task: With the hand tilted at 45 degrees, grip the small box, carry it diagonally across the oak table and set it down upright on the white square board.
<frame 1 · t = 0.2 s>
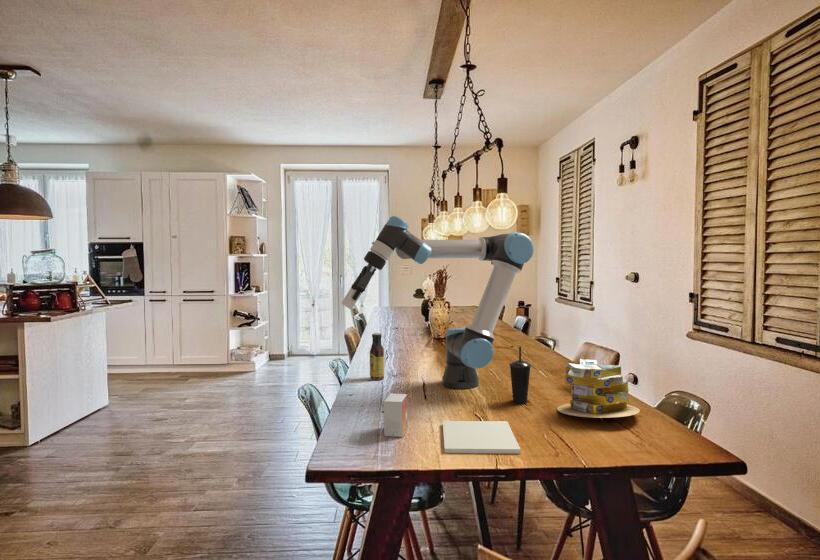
hand: (345, 306, 156), 35 cm above the table, tool tilted 35°, fingers open, 13 cm apart
stacked boxes on plate: (597, 415, 146), on the table
small box: (396, 432, 133), on the table
white square board: (478, 438, 128), on the table
sauce bottle: (377, 379, 192), on the table
light bulb box: (588, 389, 174), on the table
drinking cup: (520, 402, 159), on the table
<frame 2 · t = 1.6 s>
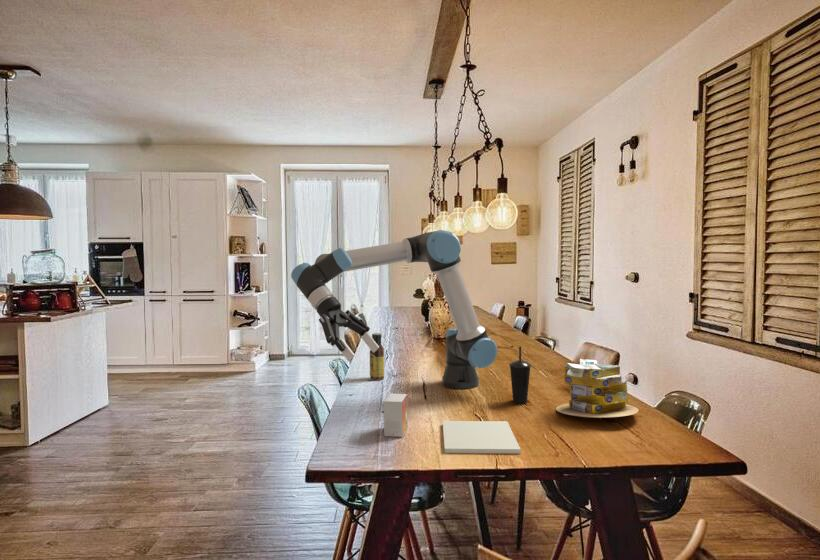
hand: (364, 354, 137), 23 cm above the table, tool tilted 45°, fingers open, 13 cm apart
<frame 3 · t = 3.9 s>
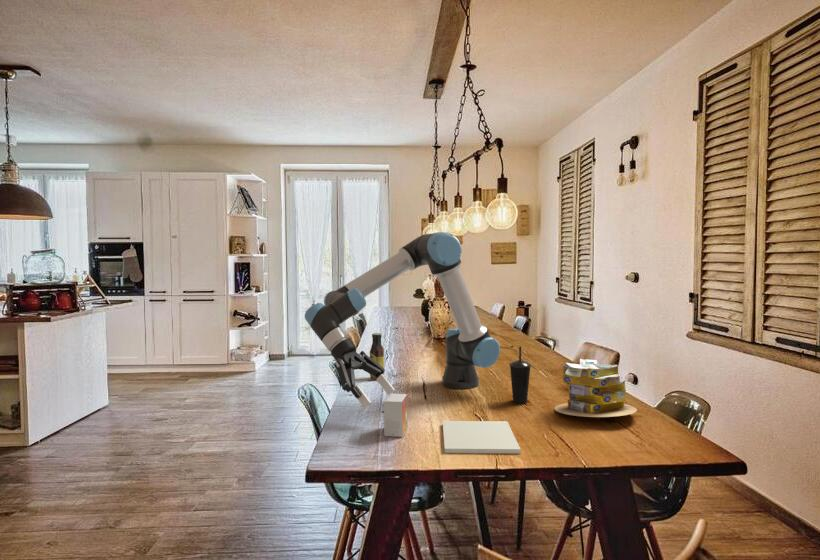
hand: (380, 398, 134), 10 cm above the table, tool tilted 45°, fingers open, 13 cm apart
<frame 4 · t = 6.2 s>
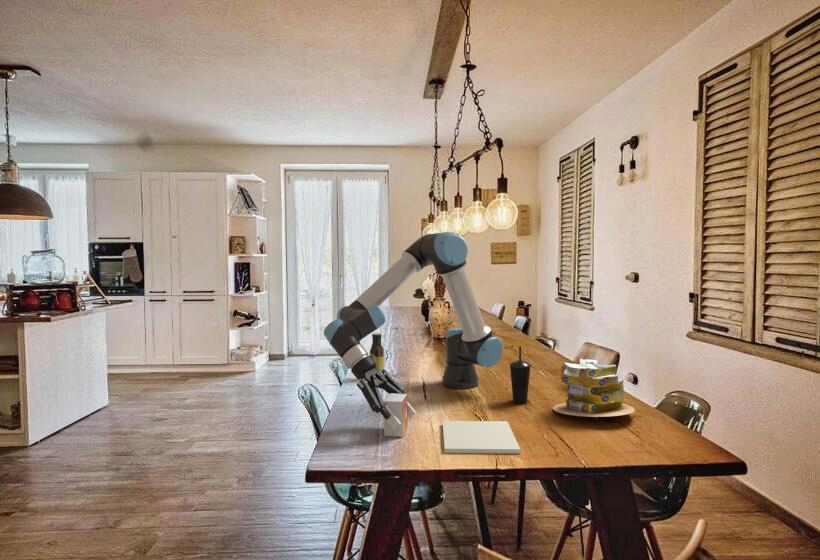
hand: (405, 420, 131), 4 cm above the table, tool tilted 45°, fingers closed on small box, 9 cm apart
small box: (396, 432, 133), on the table, touching gripper
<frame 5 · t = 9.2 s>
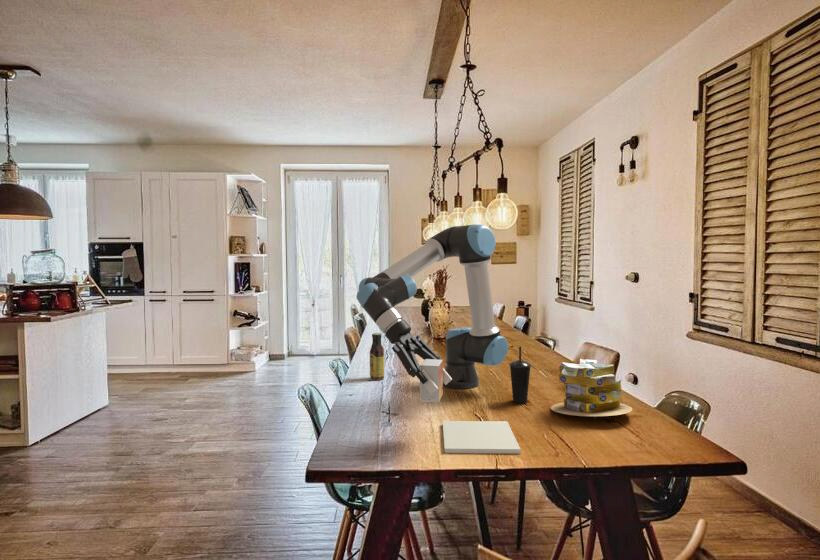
hand: (442, 386, 127), 15 cm above the table, tool tilted 45°, fingers closed on small box, 9 cm apart
small box: (431, 398, 129), point 11 cm above the table, touching gripper
when the fingers open (6 cm above the table, at t = 12.5 s): small box drops 1 cm, resting on white square board.
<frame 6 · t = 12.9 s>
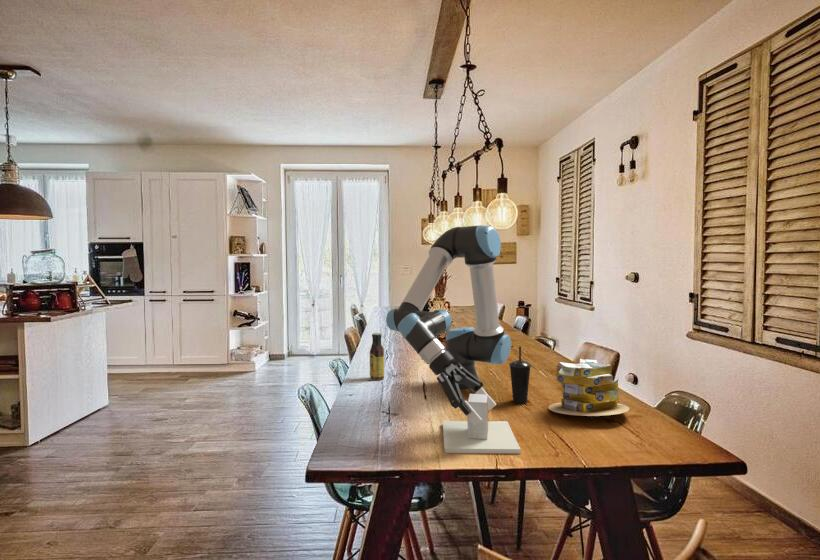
hand: (486, 414, 126), 7 cm above the table, tool tilted 45°, fingers open, 13 cm apart
small box: (478, 434, 128), point 1 cm above the table, touching white square board
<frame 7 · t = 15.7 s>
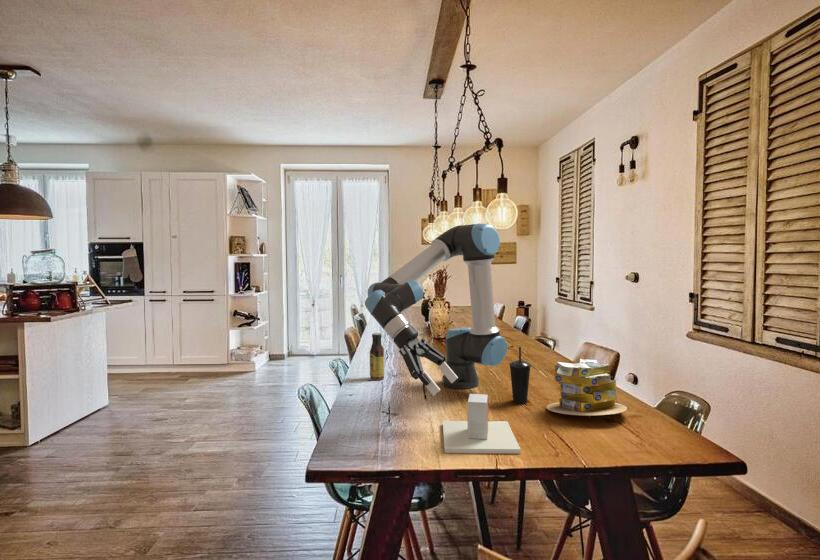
hand: (446, 386, 132), 14 cm above the table, tool tilted 45°, fingers open, 13 cm apart
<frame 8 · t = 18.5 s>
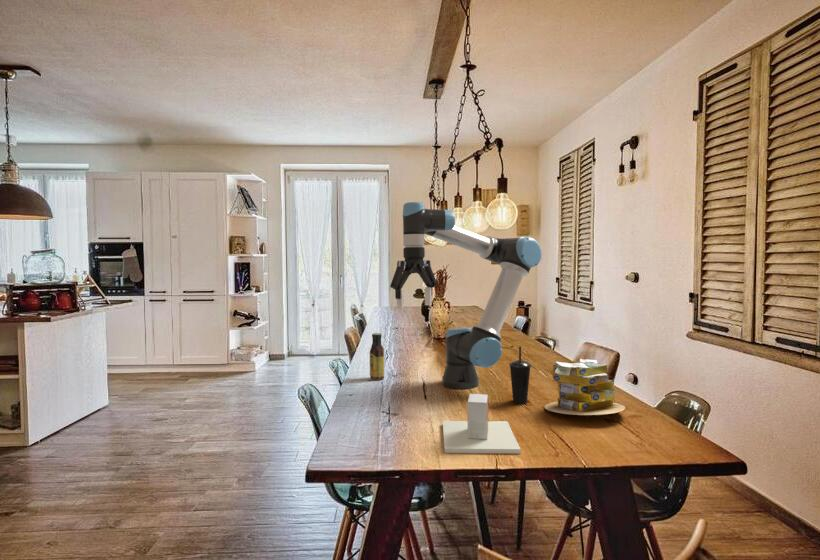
hand: (414, 306, 157), 35 cm above the table, tool pointing down, fingers open, 13 cm apart
at the end: small box inside the target area on the white square board (0.1 cm from its centre), point 1.0 cm above the white square board's base; small box tilted 0°; the gripper is holding nothing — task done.
